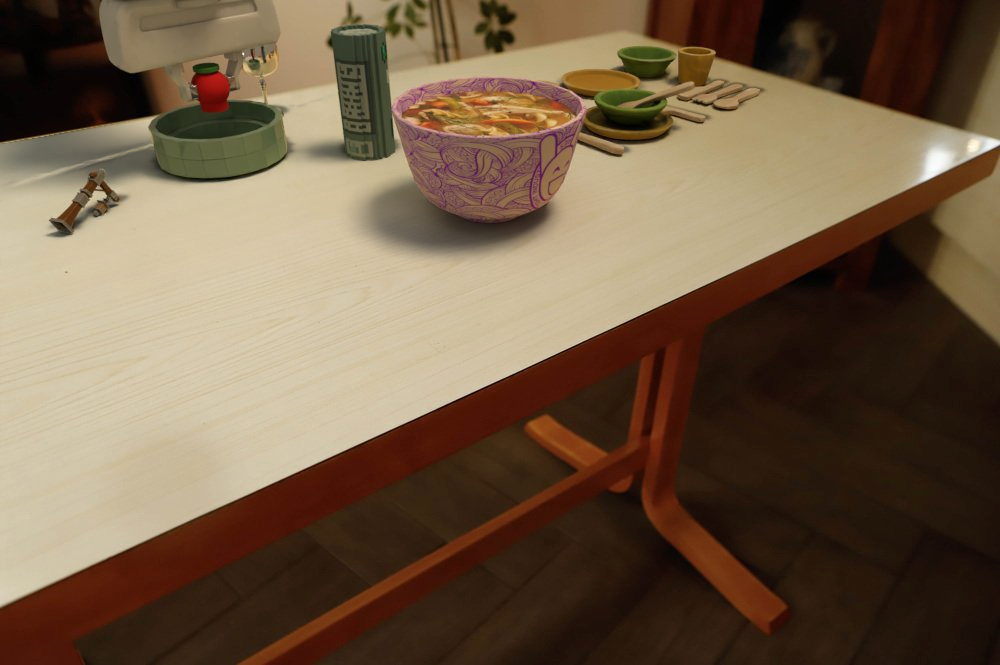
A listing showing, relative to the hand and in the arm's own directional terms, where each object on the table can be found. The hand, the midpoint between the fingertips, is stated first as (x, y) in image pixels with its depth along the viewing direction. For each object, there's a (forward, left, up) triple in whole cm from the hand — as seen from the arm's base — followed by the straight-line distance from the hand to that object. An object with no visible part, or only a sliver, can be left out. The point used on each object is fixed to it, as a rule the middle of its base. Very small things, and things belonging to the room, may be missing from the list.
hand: (211, 95), depth 88 cm
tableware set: (+25, +54, -8) cm, 60 cm away
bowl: (0, 0, -8) cm, 8 cm away
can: (+12, +14, -8) cm, 20 cm away
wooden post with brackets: (+5, -20, -8) cm, 22 cm away
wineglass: (-10, +13, -8) cm, 18 cm away
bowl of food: (+35, +12, -8) cm, 38 cm away
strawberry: (0, 0, -2) cm, 2 cm away
